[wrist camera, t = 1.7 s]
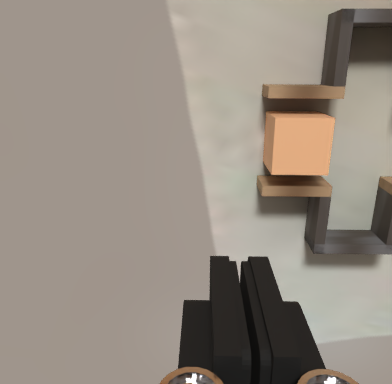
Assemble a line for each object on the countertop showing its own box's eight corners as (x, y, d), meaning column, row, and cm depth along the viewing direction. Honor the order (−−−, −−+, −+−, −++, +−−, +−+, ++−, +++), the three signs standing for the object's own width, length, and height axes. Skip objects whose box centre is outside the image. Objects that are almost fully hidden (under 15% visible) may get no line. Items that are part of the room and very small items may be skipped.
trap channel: (505, 14, 32) (539, 8, 29) (448, 239, 39) (471, 255, 36) (266, 14, 33) (273, 8, 29) (253, 237, 40) (258, 252, 36)
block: (317, 111, 35) (335, 118, 31) (312, 161, 37) (328, 175, 32) (266, 111, 36) (275, 117, 31) (262, 161, 37) (271, 174, 32)
